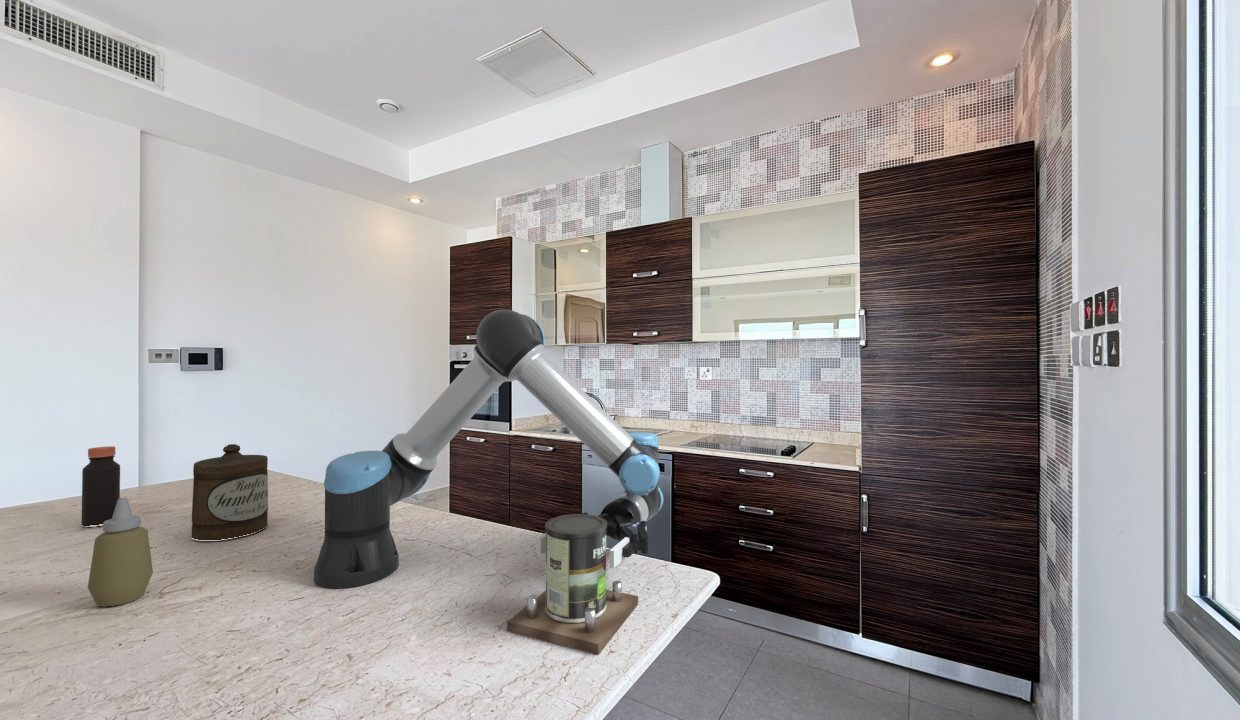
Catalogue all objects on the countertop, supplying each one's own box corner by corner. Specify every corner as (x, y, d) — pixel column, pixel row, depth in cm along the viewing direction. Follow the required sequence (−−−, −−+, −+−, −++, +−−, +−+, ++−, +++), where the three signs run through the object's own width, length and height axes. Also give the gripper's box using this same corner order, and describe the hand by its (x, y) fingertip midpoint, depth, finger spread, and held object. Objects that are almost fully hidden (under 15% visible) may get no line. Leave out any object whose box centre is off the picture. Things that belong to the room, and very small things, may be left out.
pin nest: (507, 630, 76) (507, 602, 76) (558, 587, 91) (558, 563, 91) (598, 654, 70) (598, 623, 70) (638, 604, 85) (638, 578, 85)
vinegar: (73, 527, 124) (75, 449, 124) (105, 519, 131) (107, 445, 131) (95, 529, 123) (96, 450, 123) (126, 520, 130) (127, 446, 130)
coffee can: (612, 595, 85) (612, 515, 85) (598, 627, 75) (598, 535, 75) (556, 590, 87) (557, 511, 87) (535, 619, 77) (535, 530, 77)
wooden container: (218, 546, 112) (219, 450, 112) (176, 538, 116) (177, 447, 117) (281, 526, 126) (282, 441, 126) (241, 520, 131) (242, 438, 131)
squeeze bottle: (163, 593, 88) (164, 494, 89) (104, 615, 81) (105, 507, 81) (136, 587, 91) (137, 491, 91) (76, 607, 83) (77, 502, 84)
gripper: (683, 543, 94) (645, 589, 74) (570, 526, 104) (511, 563, 84) (683, 504, 94) (645, 540, 75) (570, 491, 104) (511, 520, 84)
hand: (574, 552), depth 79 cm, fingers open, 13 cm apart
